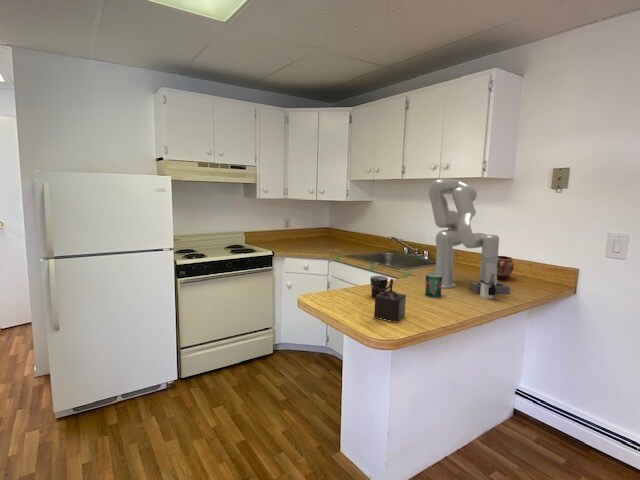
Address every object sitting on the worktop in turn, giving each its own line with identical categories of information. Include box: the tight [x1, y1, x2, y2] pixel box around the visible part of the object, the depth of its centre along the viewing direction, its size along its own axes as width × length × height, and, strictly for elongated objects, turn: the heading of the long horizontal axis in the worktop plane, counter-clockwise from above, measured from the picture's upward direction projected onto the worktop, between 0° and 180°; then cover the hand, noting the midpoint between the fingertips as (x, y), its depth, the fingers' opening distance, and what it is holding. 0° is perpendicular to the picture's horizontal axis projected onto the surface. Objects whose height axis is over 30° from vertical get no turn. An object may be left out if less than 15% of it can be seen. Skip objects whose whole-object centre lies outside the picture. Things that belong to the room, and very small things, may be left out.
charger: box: [479, 282, 494, 299], centre depth 183 cm, size 4×4×7 cm
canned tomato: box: [424, 272, 442, 299], centre depth 184 cm, size 8×8×11 cm
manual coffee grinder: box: [370, 278, 407, 322], centre depth 150 cm, size 16×11×18 cm
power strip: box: [469, 281, 511, 295], centre depth 198 cm, size 17×16×4 cm
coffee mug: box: [369, 275, 389, 299], centre depth 181 cm, size 12×9×10 cm
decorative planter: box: [497, 255, 514, 281], centre depth 219 cm, size 20×12×14 cm, turn 155°
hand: (487, 292), depth 183 cm, fingers open, 9 cm apart
